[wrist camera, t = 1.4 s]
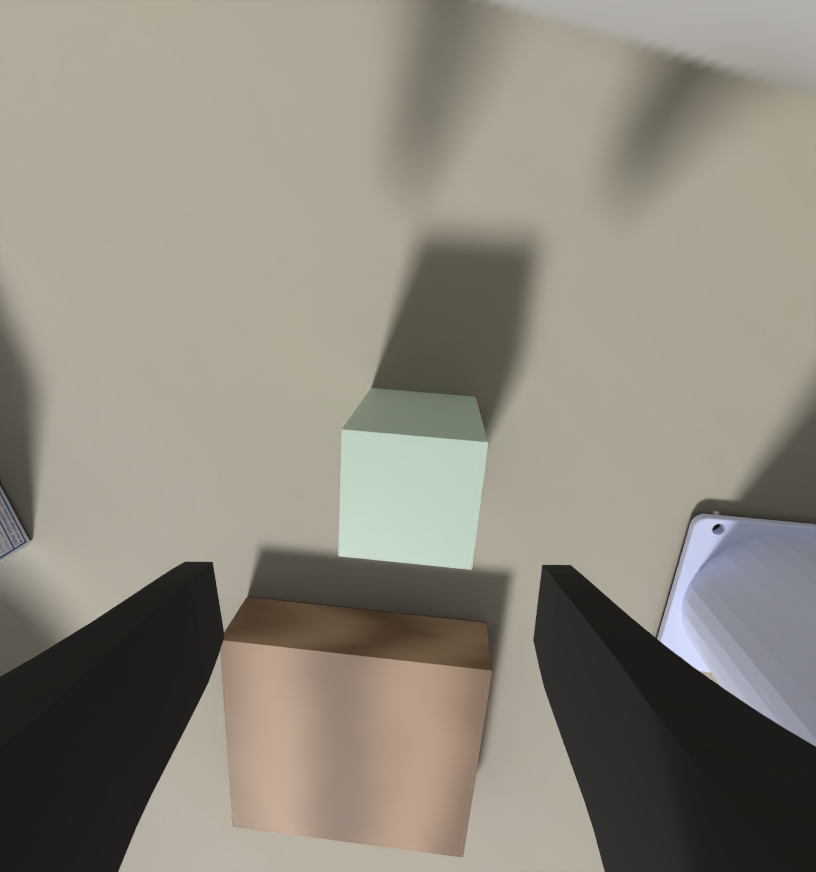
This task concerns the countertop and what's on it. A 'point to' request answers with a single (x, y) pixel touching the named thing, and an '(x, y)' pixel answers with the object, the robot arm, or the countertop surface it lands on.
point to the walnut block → (354, 723)
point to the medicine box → (10, 530)
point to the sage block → (412, 478)
